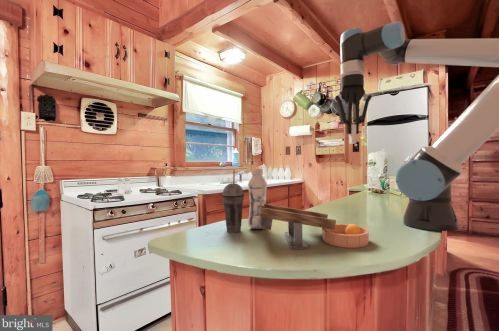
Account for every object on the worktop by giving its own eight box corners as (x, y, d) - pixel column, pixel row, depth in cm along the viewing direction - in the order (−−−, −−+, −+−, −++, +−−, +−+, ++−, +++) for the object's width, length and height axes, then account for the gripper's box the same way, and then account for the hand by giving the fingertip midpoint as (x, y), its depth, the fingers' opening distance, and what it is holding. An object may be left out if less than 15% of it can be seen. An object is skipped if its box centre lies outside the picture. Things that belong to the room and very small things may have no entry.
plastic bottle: (244, 228, 85) (243, 169, 85) (258, 225, 90) (257, 168, 89) (257, 232, 80) (256, 169, 80) (271, 228, 85) (271, 168, 85)
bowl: (357, 234, 77) (357, 223, 77) (377, 247, 65) (376, 235, 65) (317, 234, 77) (317, 224, 77) (330, 248, 65) (329, 235, 65)
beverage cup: (219, 232, 81) (218, 170, 80) (227, 227, 88) (226, 169, 87) (240, 234, 79) (239, 170, 78) (247, 228, 86) (246, 169, 85)
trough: (317, 226, 82) (320, 208, 82) (332, 240, 67) (336, 218, 67) (256, 216, 82) (259, 197, 82) (257, 228, 67) (261, 206, 67)
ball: (359, 233, 73) (354, 220, 73) (365, 238, 69) (360, 224, 69) (345, 238, 73) (341, 224, 73) (351, 242, 69) (346, 228, 69)
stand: (297, 234, 77) (297, 213, 77) (307, 249, 64) (306, 223, 64) (284, 234, 78) (284, 213, 77) (291, 249, 65) (291, 224, 64)
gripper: (365, 79, 93) (366, 144, 93) (330, 80, 93) (330, 144, 93) (375, 72, 85) (376, 142, 86) (337, 73, 85) (337, 143, 86)
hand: (352, 143), depth 89 cm, fingers closed
